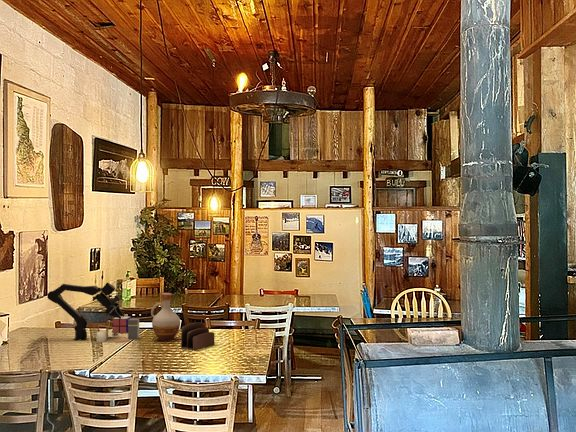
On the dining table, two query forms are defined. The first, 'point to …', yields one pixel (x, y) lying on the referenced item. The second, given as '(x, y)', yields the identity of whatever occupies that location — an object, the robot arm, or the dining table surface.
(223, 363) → the dining table surface
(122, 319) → the puzzle cube
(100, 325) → the balance
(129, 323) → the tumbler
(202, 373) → the dining table surface
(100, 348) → the dining table surface
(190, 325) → the letter holder
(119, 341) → the tile
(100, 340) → the beige square piece
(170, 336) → the jug
